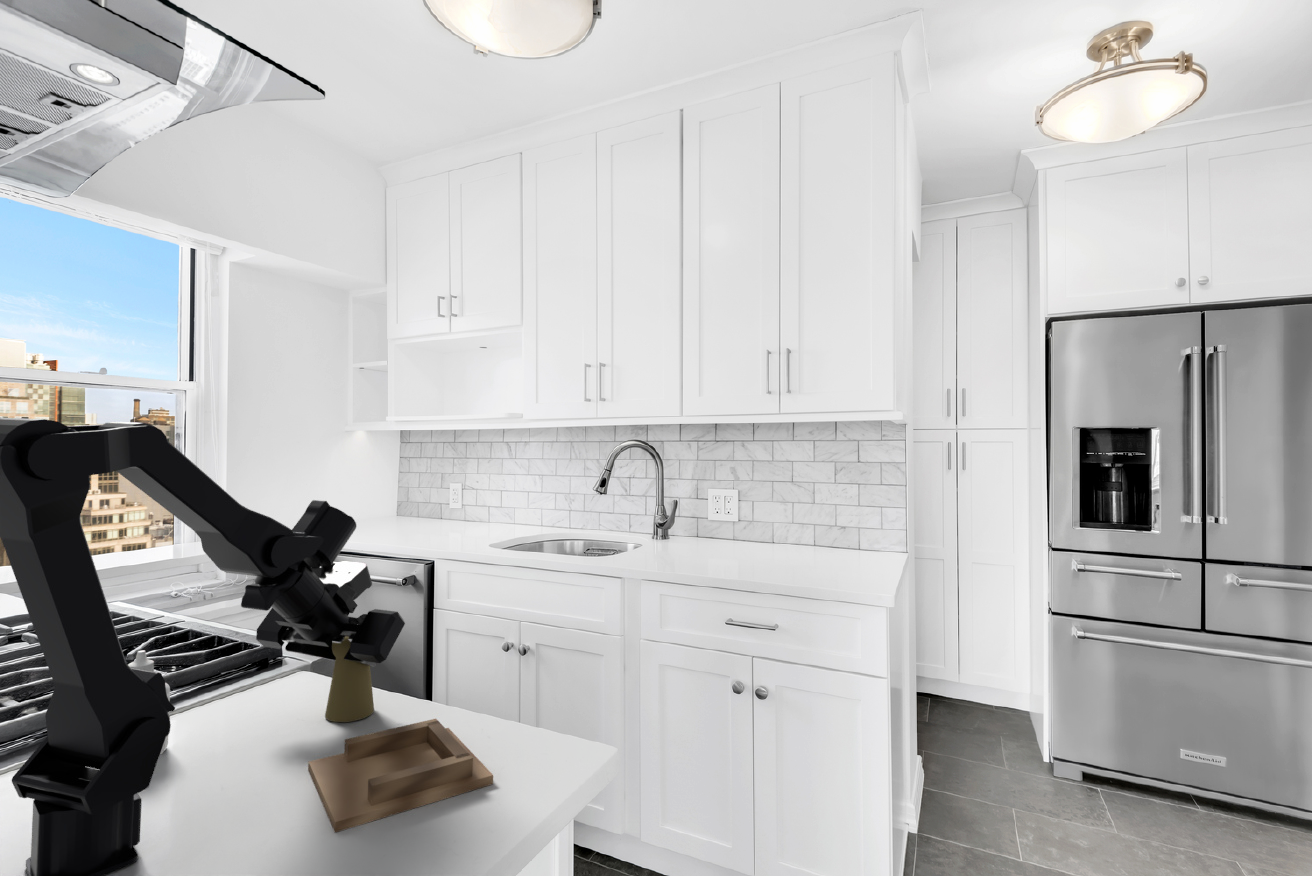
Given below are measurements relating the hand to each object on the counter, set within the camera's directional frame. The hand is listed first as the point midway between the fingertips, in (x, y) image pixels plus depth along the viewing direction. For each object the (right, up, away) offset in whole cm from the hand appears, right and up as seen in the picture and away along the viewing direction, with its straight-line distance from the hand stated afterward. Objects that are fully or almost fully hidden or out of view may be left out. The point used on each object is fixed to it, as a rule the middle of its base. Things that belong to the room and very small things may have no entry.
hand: (359, 660), depth 90 cm
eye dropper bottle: (-19, -6, -14) cm, 25 cm away
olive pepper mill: (-1, -7, -1) cm, 7 cm away
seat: (+12, -7, -17) cm, 22 cm away
